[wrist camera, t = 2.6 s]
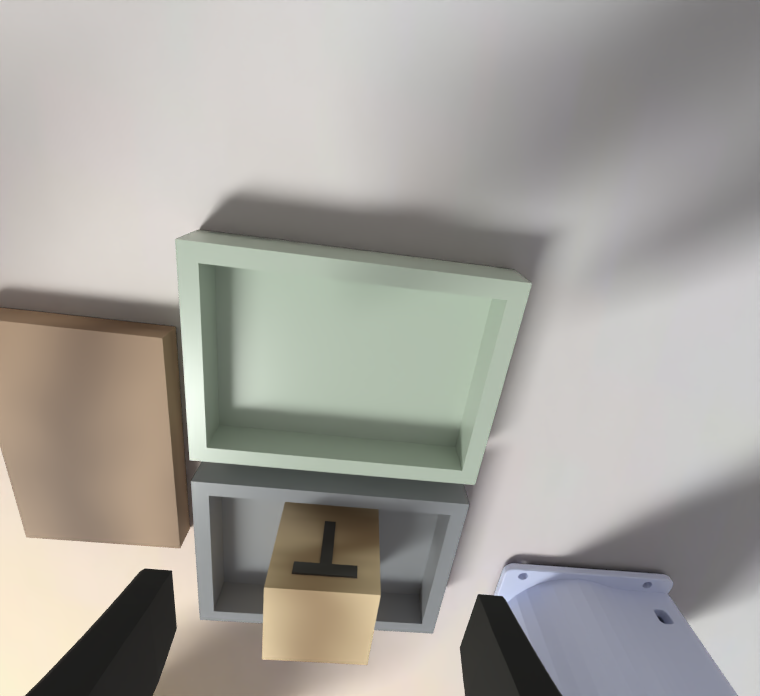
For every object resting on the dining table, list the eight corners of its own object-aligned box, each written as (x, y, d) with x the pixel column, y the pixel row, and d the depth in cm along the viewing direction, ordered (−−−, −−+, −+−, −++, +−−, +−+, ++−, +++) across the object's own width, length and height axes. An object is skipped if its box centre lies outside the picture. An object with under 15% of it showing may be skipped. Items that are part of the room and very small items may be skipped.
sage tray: (513, 269, 16) (532, 283, 14) (465, 455, 20) (475, 484, 18) (198, 229, 15) (174, 239, 14) (206, 431, 19) (189, 460, 17)
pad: (175, 326, 17) (162, 338, 16) (190, 528, 21) (180, 548, 20) (-10, 306, 16) (-37, 317, 15) (44, 517, 21) (26, 537, 20)
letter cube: (378, 506, 21) (381, 593, 16) (367, 572, 22) (367, 665, 18) (285, 498, 20) (263, 585, 16) (281, 566, 22) (261, 659, 18)
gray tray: (460, 473, 20) (469, 504, 18) (427, 597, 24) (433, 633, 22) (207, 451, 19) (190, 481, 18) (213, 583, 23) (200, 619, 21)
